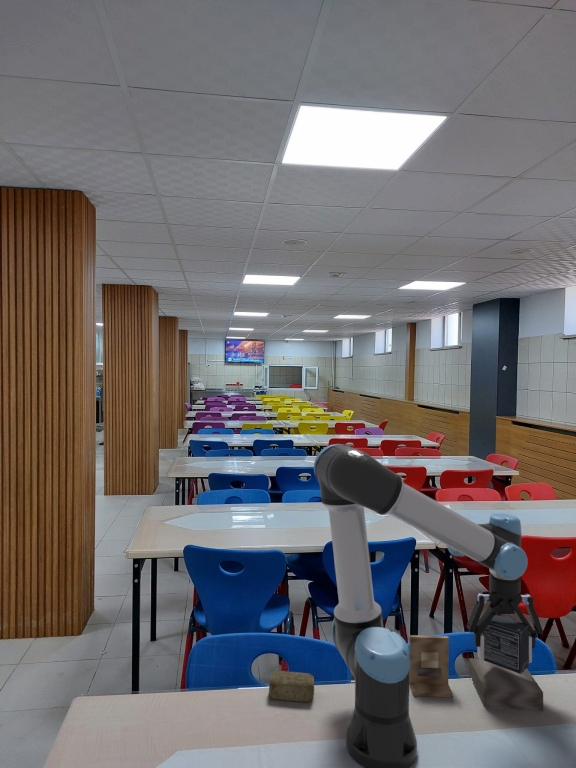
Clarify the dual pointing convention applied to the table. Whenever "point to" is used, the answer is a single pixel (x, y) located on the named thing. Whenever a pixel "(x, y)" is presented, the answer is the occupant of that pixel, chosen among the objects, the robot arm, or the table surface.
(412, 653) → the stand
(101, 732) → the table surface
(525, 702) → the base block
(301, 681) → the stone block
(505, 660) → the small box
